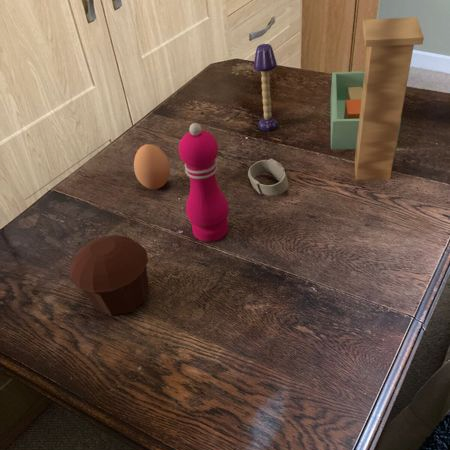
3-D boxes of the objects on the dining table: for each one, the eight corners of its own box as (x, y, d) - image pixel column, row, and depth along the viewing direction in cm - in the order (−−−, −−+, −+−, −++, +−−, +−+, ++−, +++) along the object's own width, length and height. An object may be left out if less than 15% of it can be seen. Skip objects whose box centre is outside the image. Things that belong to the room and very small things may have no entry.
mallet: (367, 99, 112) (369, 76, 108) (375, 135, 101) (379, 112, 97) (340, 100, 112) (341, 78, 109) (345, 137, 102) (347, 114, 98)
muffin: (142, 260, 83) (128, 212, 75) (167, 301, 76) (154, 253, 68) (74, 287, 80) (53, 240, 72) (94, 333, 73) (72, 286, 65)
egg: (158, 172, 100) (149, 132, 94) (180, 184, 97) (172, 143, 90) (132, 188, 97) (121, 147, 91) (153, 201, 94) (143, 159, 87)
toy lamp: (252, 127, 109) (247, 48, 97) (265, 118, 111) (262, 39, 99) (269, 133, 107) (267, 52, 94) (282, 123, 109) (281, 44, 96)
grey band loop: (296, 191, 91) (296, 168, 88) (268, 204, 90) (267, 181, 86) (267, 170, 97) (267, 147, 93) (241, 182, 95) (239, 159, 92)
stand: (391, 165, 94) (417, 16, 75) (394, 190, 89) (423, 37, 70) (348, 165, 95) (363, 19, 76) (349, 190, 90) (365, 39, 71)
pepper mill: (208, 249, 83) (190, 142, 68) (182, 231, 87) (160, 125, 72) (239, 229, 86) (229, 121, 71) (213, 212, 90) (198, 106, 75)
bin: (387, 99, 112) (391, 70, 107) (395, 150, 97) (401, 119, 93) (330, 100, 114) (332, 72, 109) (330, 151, 99) (332, 121, 95)
